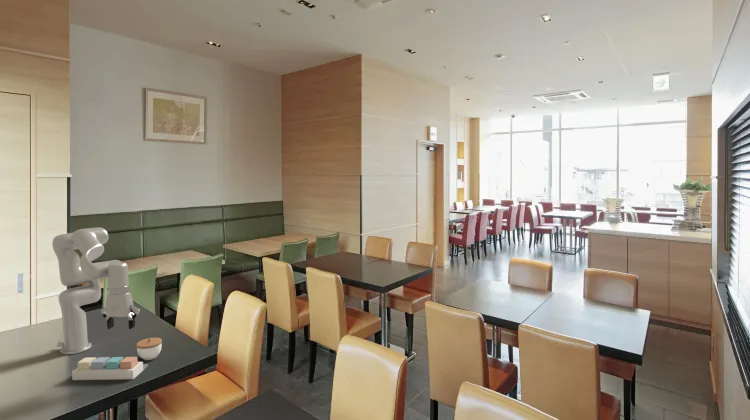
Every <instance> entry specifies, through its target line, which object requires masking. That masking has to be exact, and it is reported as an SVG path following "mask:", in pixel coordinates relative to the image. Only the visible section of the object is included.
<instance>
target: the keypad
mask: <svg viewBox="0 0 750 420" xmlns="http://www.w3.org/2000/svg"><path fill="white" fill-rule="evenodd" d="M148 367H149V364H148V363H144V362H143V361H138V364H137V365H136V366H135V367H133V368H132V369H120V368H119V369H106V368H105V369H96V370H92V368H91V369H90V370H78V366H77V367H76V368H75V369H74V368H73V370H72V371H71V376H72V377H71V378H72V379H71V380H72V381H93V380H94V381H95V380H96V381H99V380H103V381H104V380H134V379H136V378H137V377H138V376H139V375H140V374H141V373H142V372H143V371H145V370H146V369H147V368H148Z"/></svg>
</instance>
